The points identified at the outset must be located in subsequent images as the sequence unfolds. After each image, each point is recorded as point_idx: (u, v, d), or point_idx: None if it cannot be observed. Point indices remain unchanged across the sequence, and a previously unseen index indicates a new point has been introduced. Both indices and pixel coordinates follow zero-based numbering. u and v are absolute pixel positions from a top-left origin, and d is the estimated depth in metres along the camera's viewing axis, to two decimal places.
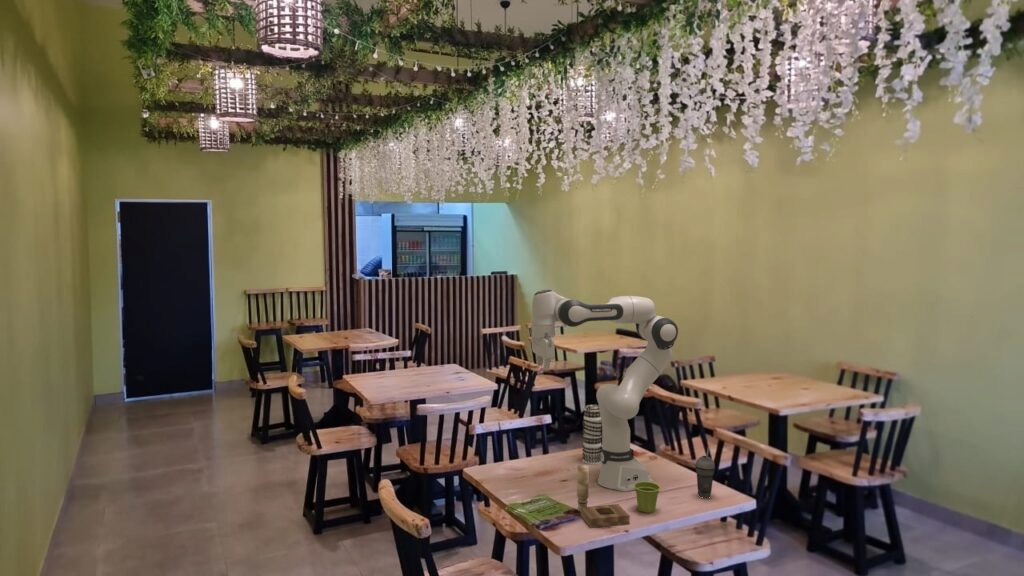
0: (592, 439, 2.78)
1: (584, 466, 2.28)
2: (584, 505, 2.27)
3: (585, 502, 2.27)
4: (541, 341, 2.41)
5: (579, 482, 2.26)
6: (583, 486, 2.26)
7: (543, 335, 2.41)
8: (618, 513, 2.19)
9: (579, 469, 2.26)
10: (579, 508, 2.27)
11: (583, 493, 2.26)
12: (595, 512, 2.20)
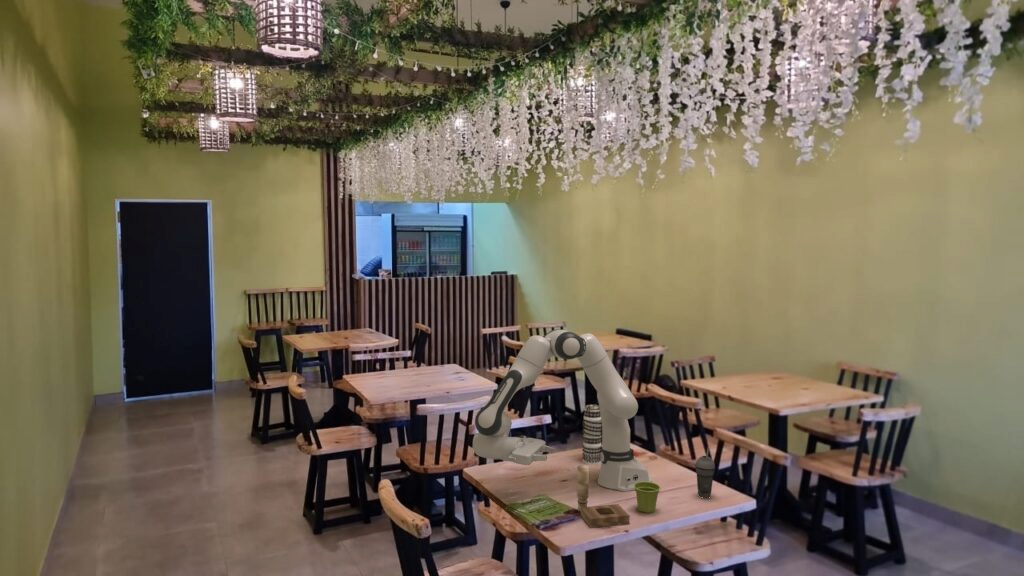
0: (592, 439, 2.78)
1: (584, 466, 2.28)
2: (584, 505, 2.27)
3: (585, 502, 2.27)
4: None
5: (579, 482, 2.26)
6: (583, 486, 2.26)
7: None
8: (618, 513, 2.19)
9: (579, 469, 2.26)
10: (579, 508, 2.27)
11: (583, 493, 2.26)
12: (595, 512, 2.20)
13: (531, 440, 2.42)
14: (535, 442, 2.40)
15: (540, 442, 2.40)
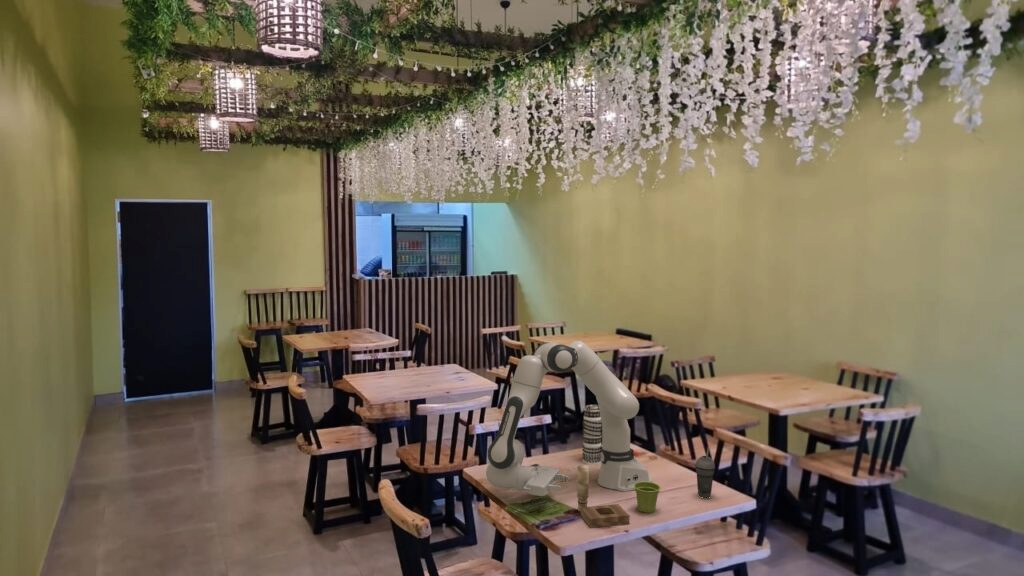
0: (592, 439, 2.78)
1: (584, 466, 2.28)
2: (584, 505, 2.27)
3: (585, 502, 2.27)
4: None
5: (579, 482, 2.26)
6: (583, 486, 2.26)
7: None
8: (618, 513, 2.19)
9: (579, 469, 2.26)
10: (579, 508, 2.27)
11: (583, 493, 2.26)
12: (595, 512, 2.20)
13: (545, 468, 2.41)
14: (549, 470, 2.39)
15: (554, 470, 2.39)
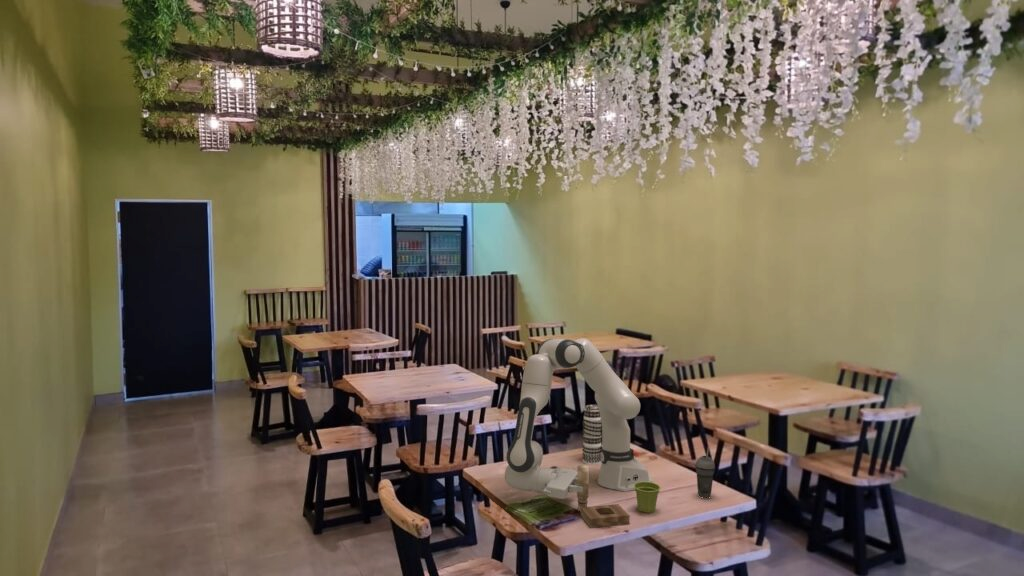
0: (592, 439, 2.78)
1: (584, 466, 2.28)
2: (584, 505, 2.27)
3: (585, 502, 2.27)
4: None
5: (579, 482, 2.26)
6: None
7: None
8: (618, 513, 2.19)
9: (579, 469, 2.26)
10: (579, 508, 2.27)
11: (583, 493, 2.26)
12: (595, 512, 2.20)
13: (564, 470, 2.38)
14: (569, 473, 2.36)
15: (574, 473, 2.36)
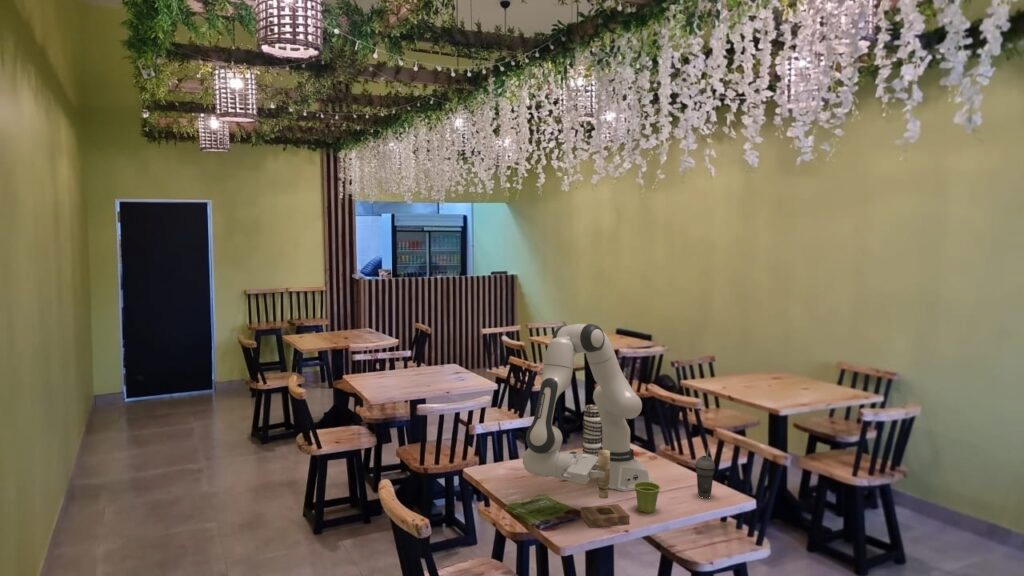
0: (592, 439, 2.78)
1: (605, 451, 2.20)
2: (605, 491, 2.19)
3: (606, 488, 2.19)
4: None
5: (600, 467, 2.19)
6: None
7: None
8: (618, 513, 2.19)
9: (600, 454, 2.19)
10: (600, 494, 2.20)
11: (604, 479, 2.18)
12: (595, 512, 2.20)
13: (584, 456, 2.30)
14: (588, 458, 2.28)
15: (594, 458, 2.28)
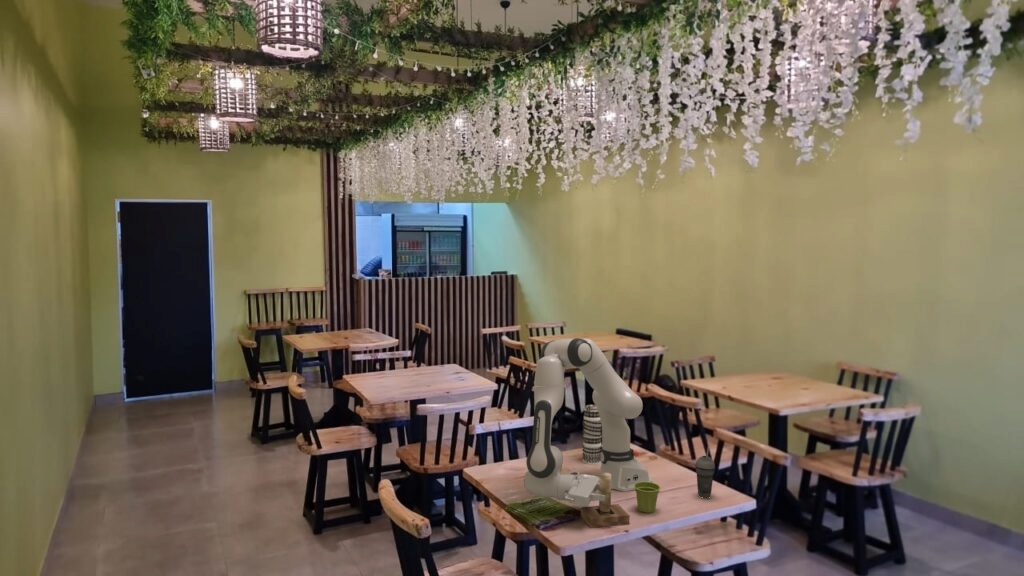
0: (592, 439, 2.78)
1: (606, 474, 2.20)
2: (606, 514, 2.19)
3: (607, 511, 2.19)
4: None
5: (601, 490, 2.19)
6: (606, 494, 2.18)
7: None
8: (618, 513, 2.19)
9: (601, 477, 2.19)
10: None
11: (605, 502, 2.18)
12: (595, 512, 2.20)
13: (585, 477, 2.30)
14: (590, 479, 2.28)
15: (595, 479, 2.28)
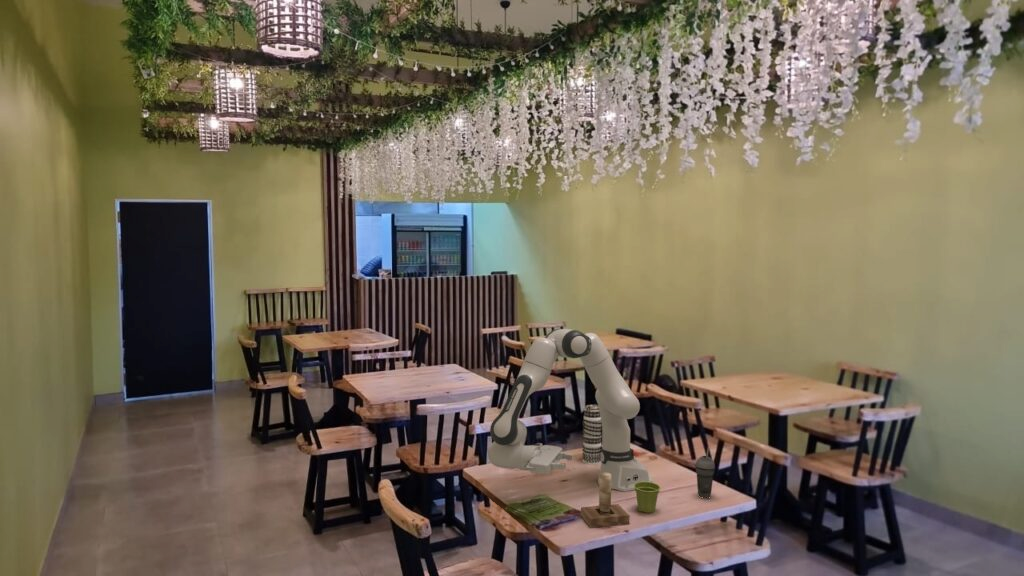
0: (592, 439, 2.78)
1: (606, 474, 2.20)
2: (606, 514, 2.19)
3: (607, 511, 2.19)
4: None
5: (601, 490, 2.19)
6: (606, 494, 2.18)
7: None
8: (618, 513, 2.19)
9: (601, 477, 2.19)
10: None
11: (605, 502, 2.18)
12: (595, 512, 2.20)
13: (548, 447, 2.37)
14: (552, 449, 2.35)
15: (557, 449, 2.35)
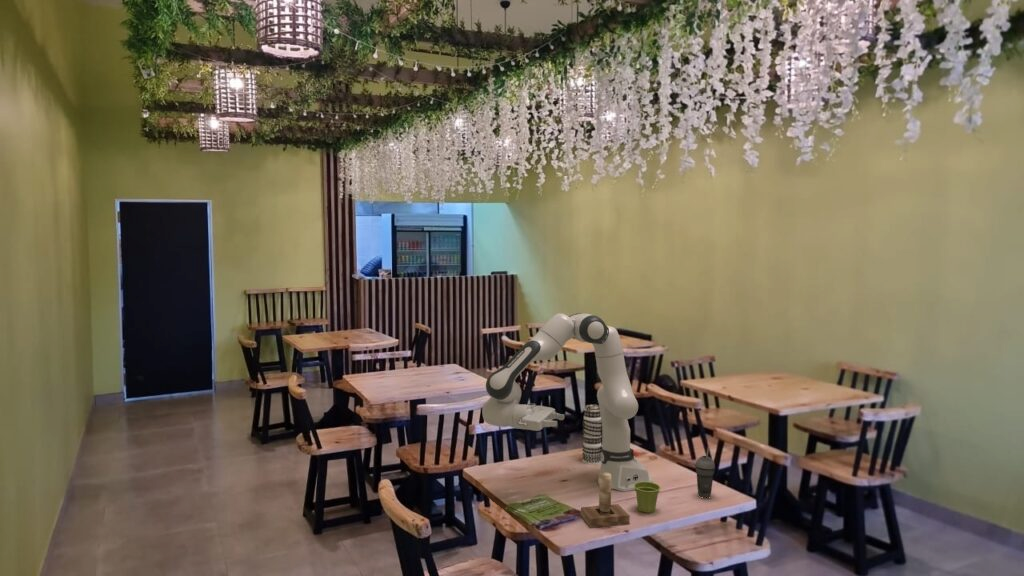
0: (592, 439, 2.78)
1: (606, 474, 2.20)
2: (606, 514, 2.19)
3: (607, 511, 2.19)
4: None
5: (601, 490, 2.19)
6: (606, 494, 2.18)
7: None
8: (618, 513, 2.19)
9: (601, 477, 2.19)
10: None
11: (605, 502, 2.18)
12: (595, 512, 2.20)
13: (541, 408, 2.40)
14: (545, 409, 2.38)
15: (550, 409, 2.38)
